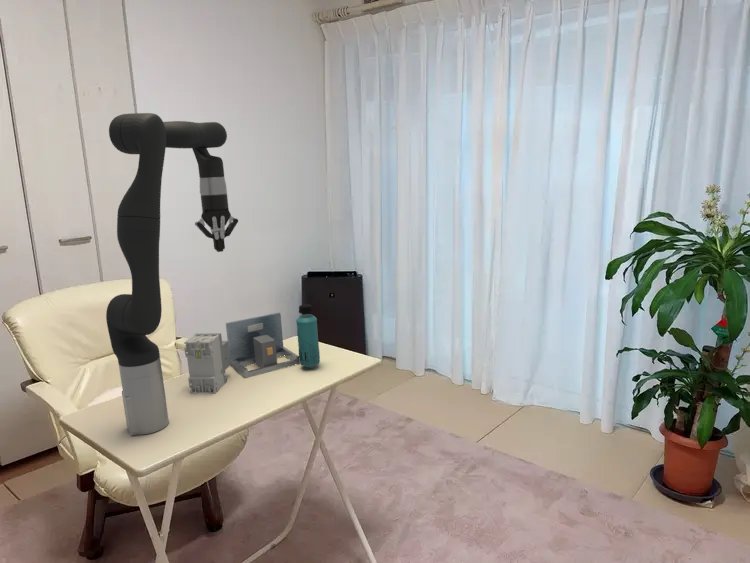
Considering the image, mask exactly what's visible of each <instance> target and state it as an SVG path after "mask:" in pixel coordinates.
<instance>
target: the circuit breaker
mask: <svg viewBox="0 0 750 563" xmlns="http://www.w3.org/2000/svg"><path fill="white" fill-rule="evenodd" d="M183 344H184V345H185V347H184V355H185V358H186V359H187V367H188V375H189V376H188V378H187V380H188V388H189V389H190V392H189V394H195V395H196V394H197V395H198V394H201V395H202V394H206V395H207V394H209V395H211V394H214V395H215V394H217V392H219V391H220V390H221V389H222V387H223V386H225V384H226V383H227V375H226V370H227V369H228V368H229V367H230V355H229V346H228V340H223V339H222V333H221V332H220V333H219V332H218V333H217V332H216V333H214V332H213V333H195V334H194V335H192V336H191V337H189V338H188V339H186V341H184V342H183Z"/></svg>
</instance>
